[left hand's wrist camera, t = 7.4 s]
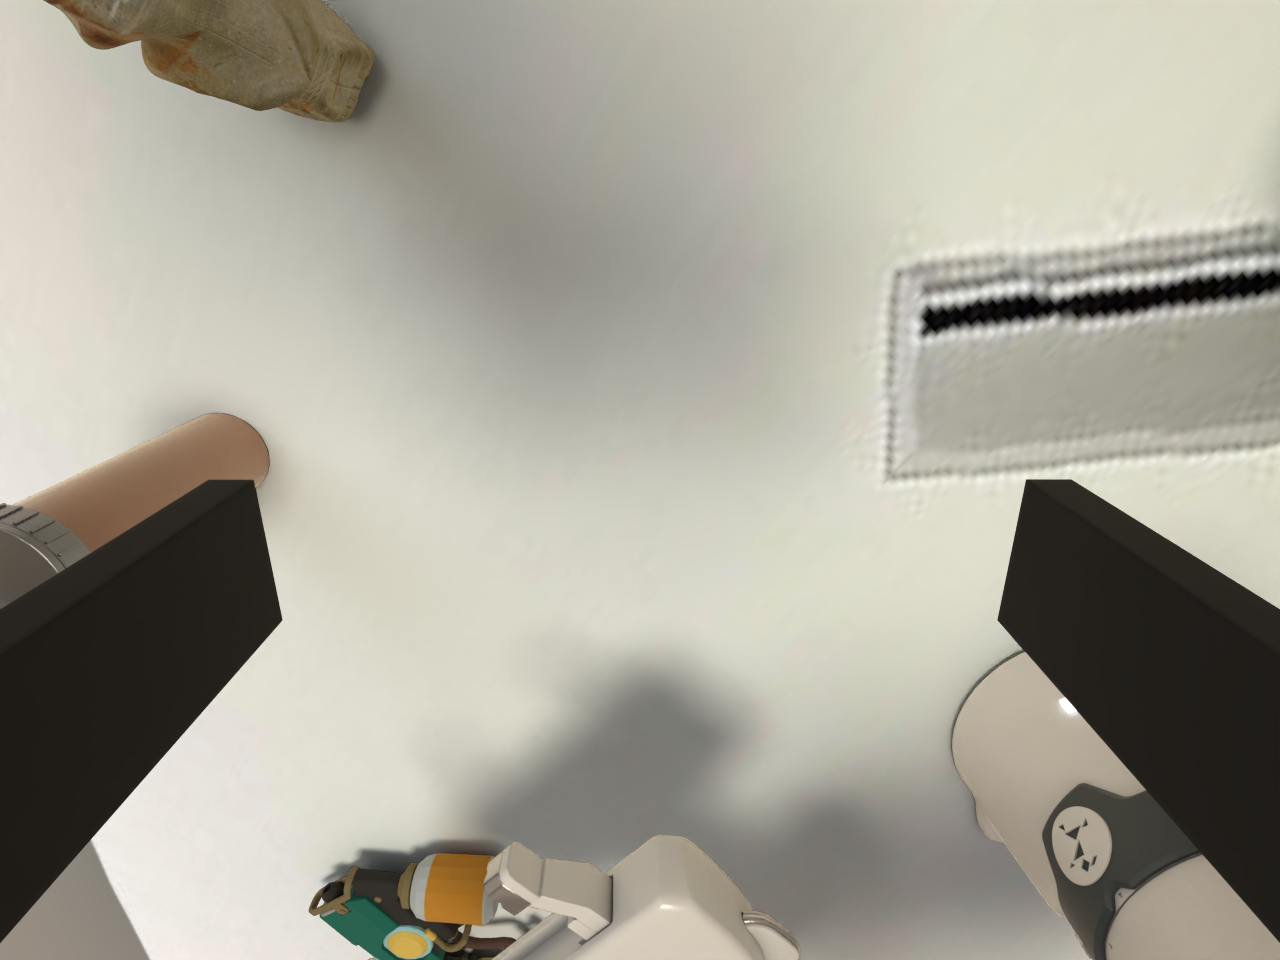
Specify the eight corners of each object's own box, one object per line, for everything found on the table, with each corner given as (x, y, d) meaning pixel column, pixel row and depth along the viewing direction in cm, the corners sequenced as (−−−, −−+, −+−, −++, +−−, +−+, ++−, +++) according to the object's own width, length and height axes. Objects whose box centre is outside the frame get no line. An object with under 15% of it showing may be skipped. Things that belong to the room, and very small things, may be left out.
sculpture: (263, -58, 32) (-34, -268, 18) (407, 45, 33) (238, -74, 19) (213, 66, 34) (-93, -37, 20) (352, 159, 35) (161, 125, 21)
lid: (15, 655, 29) (-21, 680, 27) (-87, 533, 27) (-131, 553, 25) (135, 609, 28) (106, 632, 26) (40, 480, 26) (2, 497, 25)
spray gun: (584, 959, 56) (410, 992, 58) (503, 815, 49) (311, 857, 51) (579, 1019, 52) (393, 1052, 54) (491, 871, 45) (283, 914, 48)
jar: (213, 505, 42) (-9, 660, 27) (164, 431, 40) (-99, 554, 26) (286, 476, 41) (97, 619, 27) (239, 400, 39) (11, 508, 25)
